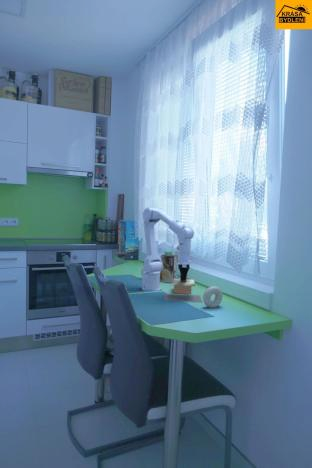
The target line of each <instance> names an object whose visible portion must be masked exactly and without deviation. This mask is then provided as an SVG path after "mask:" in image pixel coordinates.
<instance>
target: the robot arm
mask: <svg viewBox="0 0 312 468" xmlns="http://www.w3.org/2000/svg"><path fill="white" fill-rule="evenodd" d="M142 219H143V231H144V232H143V233H144V239H145V248H146V255H147V256H146V257H145V258H143V267H142V268H144V273H143V276H142V275H141V277H142V278H141V280H142V281H141V291H160V290H161V287H160V273H161V271H162V269H163V263H162V261H161V258H160V255H158V250H157V241H156V234H155V225H156V224H157V223H158V222H160V221H162V222H163V223H165V224H166V225H168V228H169V229H170V231H172V232H173V233H175V234H176V237H177V239H178V256H177V269H178V270H179V275H181V280H183V281H185V280H186V277H188V272H189V270H190V268H191V267H190V264H193V261H191V247H192V244H191V243H192V239H193V238H194V235H195V234H194V233H195V232H194V230H193V228H192V227H189V226H188V227H187V226H186V225H185V224H183V223H182V222H180V220H179V219H173V218H171V216H169V215H168V214H167V213H166V212H165V210H164V209H162V208H160V207H146V208H144V210H143V212H142Z"/></svg>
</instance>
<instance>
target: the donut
mask: <svg viewBox="0 0 312 468" xmlns="http://www.w3.org/2000/svg"><path fill="white" fill-rule="evenodd" d="M212 295H214V298H213V300H212ZM223 297H224V296H223V291H222V290H221V289H220V288H219V287H218V286H216V285H215V286H212V285H211V286H209V287H207V289H206V290H205V291H204V293H203V296H202V302H203V304H204V305H205V306H206V307H207V308H208V309H209V308H210V309H214V308H217V307H219V306H220V304H221V303H222V301H223Z"/></svg>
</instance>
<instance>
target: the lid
mask: <svg viewBox="0 0 312 468" xmlns="http://www.w3.org/2000/svg"><path fill="white" fill-rule="evenodd" d="M179 275H180V274H179ZM187 277H188V276H187ZM187 277H186V280H185V281H183V280H181V275H180V277H179V278H176V279H172V283H171V286H174V285H180V286H192V287H196V283H195V279H187Z"/></svg>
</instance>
